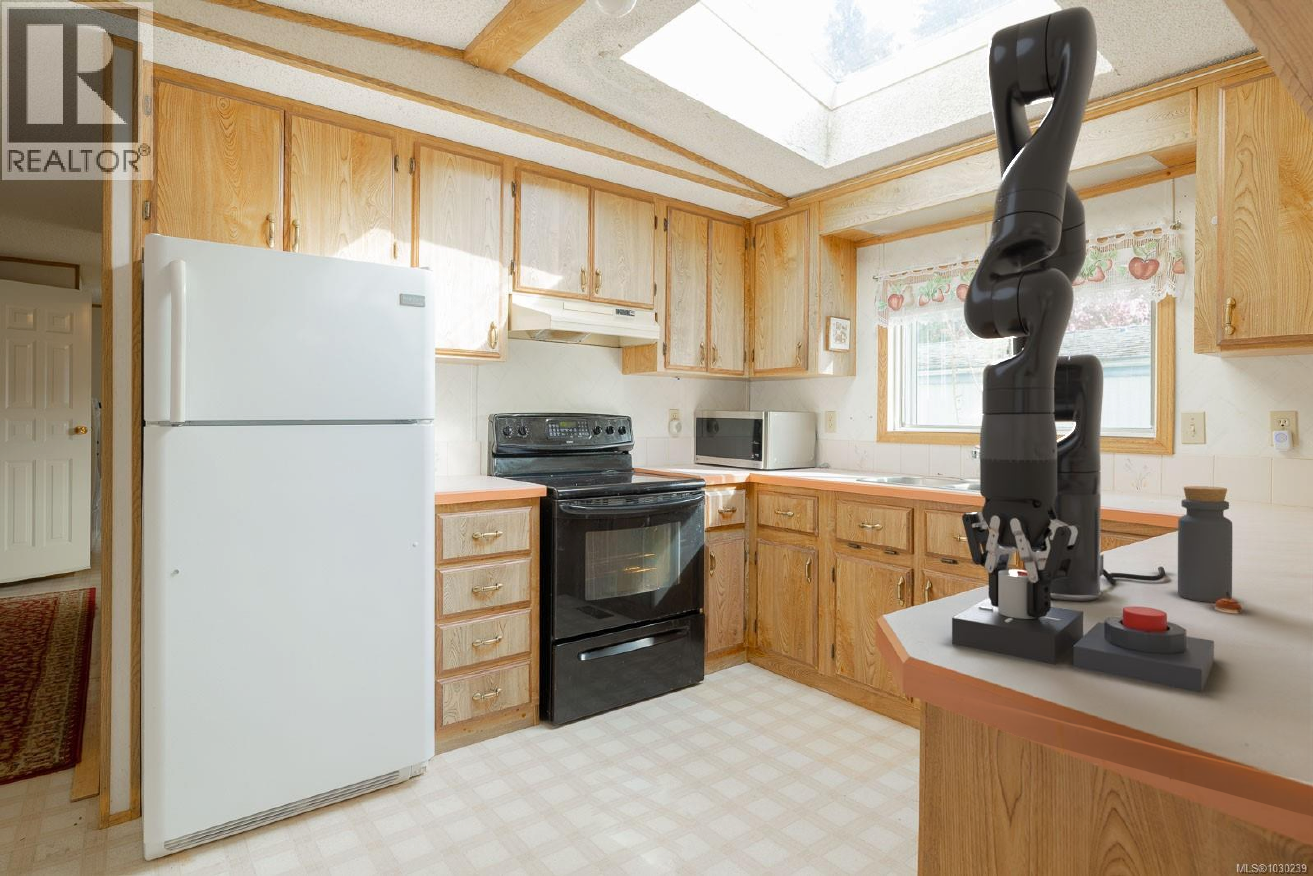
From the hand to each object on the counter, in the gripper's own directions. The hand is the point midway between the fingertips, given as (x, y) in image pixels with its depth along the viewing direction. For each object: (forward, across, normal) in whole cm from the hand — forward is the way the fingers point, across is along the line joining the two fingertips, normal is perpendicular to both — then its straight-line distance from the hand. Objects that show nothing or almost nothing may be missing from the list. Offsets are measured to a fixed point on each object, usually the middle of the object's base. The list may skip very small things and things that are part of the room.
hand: (1018, 610), depth 78 cm
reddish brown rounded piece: (+4, -2, -35) cm, 35 cm away
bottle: (+4, +4, -39) cm, 39 cm away
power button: (0, -11, -5) cm, 12 cm away
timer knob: (0, 0, 0) cm, 0 cm away
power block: (+4, -10, -5) cm, 12 cm away
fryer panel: (+3, 0, 0) cm, 3 cm away
